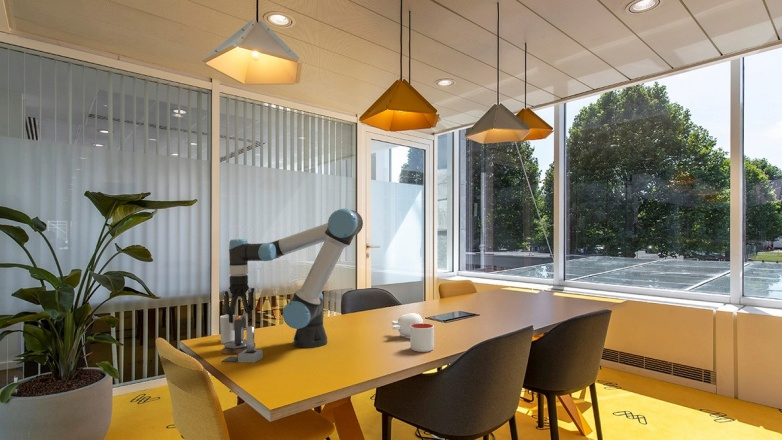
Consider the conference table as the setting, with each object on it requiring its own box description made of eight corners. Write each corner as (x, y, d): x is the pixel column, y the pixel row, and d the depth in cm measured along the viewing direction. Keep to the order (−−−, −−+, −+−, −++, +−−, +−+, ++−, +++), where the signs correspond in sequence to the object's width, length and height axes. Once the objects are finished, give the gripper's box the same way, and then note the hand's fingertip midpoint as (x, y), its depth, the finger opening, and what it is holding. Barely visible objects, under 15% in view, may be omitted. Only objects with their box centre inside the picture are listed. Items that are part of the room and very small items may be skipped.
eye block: (262, 357, 176) (262, 349, 176) (254, 362, 169) (254, 354, 169) (246, 356, 177) (246, 349, 177) (237, 361, 170) (237, 354, 170)
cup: (437, 347, 187) (437, 324, 187) (429, 354, 178) (429, 329, 178) (415, 345, 191) (415, 322, 191) (406, 351, 182) (406, 327, 182)
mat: (243, 357, 175) (243, 356, 175) (236, 362, 170) (236, 361, 170) (229, 357, 176) (229, 356, 176) (221, 361, 170) (221, 360, 170)
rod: (255, 358, 174) (255, 326, 174) (252, 360, 171) (252, 327, 172) (248, 358, 175) (248, 325, 175) (245, 360, 172) (245, 327, 172)
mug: (236, 342, 199) (236, 316, 199) (220, 344, 196) (220, 318, 196) (234, 338, 208) (234, 313, 208) (219, 339, 205) (219, 314, 205)
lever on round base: (255, 340, 194) (254, 310, 194) (252, 348, 182) (252, 315, 182) (226, 342, 191) (226, 312, 191) (222, 350, 179) (222, 317, 179)
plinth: (255, 347, 191) (255, 342, 191) (244, 354, 181) (244, 348, 181) (234, 347, 192) (234, 342, 192) (222, 353, 182) (222, 348, 182)
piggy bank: (424, 338, 209) (393, 341, 209) (421, 313, 213) (391, 316, 213) (425, 336, 198) (393, 339, 197) (423, 310, 201) (390, 313, 201)
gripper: (253, 272, 196) (254, 324, 196) (214, 276, 183) (214, 331, 183) (262, 273, 191) (262, 326, 191) (222, 277, 178) (222, 334, 178)
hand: (239, 328), depth 187 cm, fingers closed on lever on round base, 5 cm apart
